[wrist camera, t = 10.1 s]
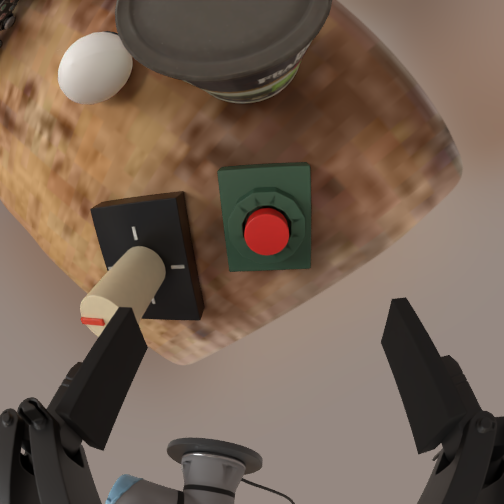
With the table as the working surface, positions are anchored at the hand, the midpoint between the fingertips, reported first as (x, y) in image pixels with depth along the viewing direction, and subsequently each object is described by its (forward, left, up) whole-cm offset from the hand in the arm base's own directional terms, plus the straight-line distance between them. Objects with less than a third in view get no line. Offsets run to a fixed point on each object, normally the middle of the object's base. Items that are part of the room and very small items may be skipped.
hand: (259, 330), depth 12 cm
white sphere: (+18, +15, -17) cm, 29 cm away
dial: (-4, +13, -14) cm, 19 cm away
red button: (0, 0, -13) cm, 13 cm away
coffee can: (+16, +1, -17) cm, 23 cm away
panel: (-4, +13, -16) cm, 21 cm away
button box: (0, 0, -16) cm, 16 cm away
